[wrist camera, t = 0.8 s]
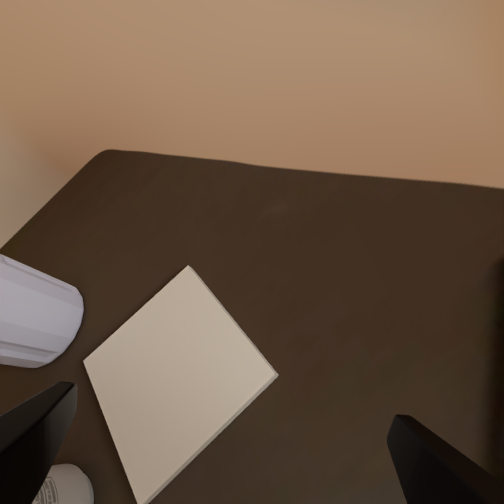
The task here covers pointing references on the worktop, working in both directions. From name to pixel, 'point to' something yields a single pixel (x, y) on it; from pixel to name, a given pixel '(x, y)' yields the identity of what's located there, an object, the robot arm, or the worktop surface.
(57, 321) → the soap bottle
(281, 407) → the worktop surface
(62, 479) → the energy drink can
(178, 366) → the pad
